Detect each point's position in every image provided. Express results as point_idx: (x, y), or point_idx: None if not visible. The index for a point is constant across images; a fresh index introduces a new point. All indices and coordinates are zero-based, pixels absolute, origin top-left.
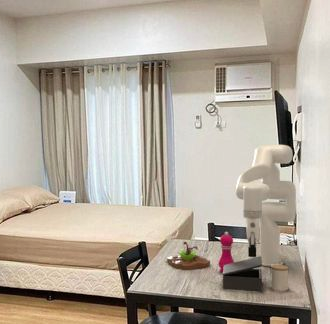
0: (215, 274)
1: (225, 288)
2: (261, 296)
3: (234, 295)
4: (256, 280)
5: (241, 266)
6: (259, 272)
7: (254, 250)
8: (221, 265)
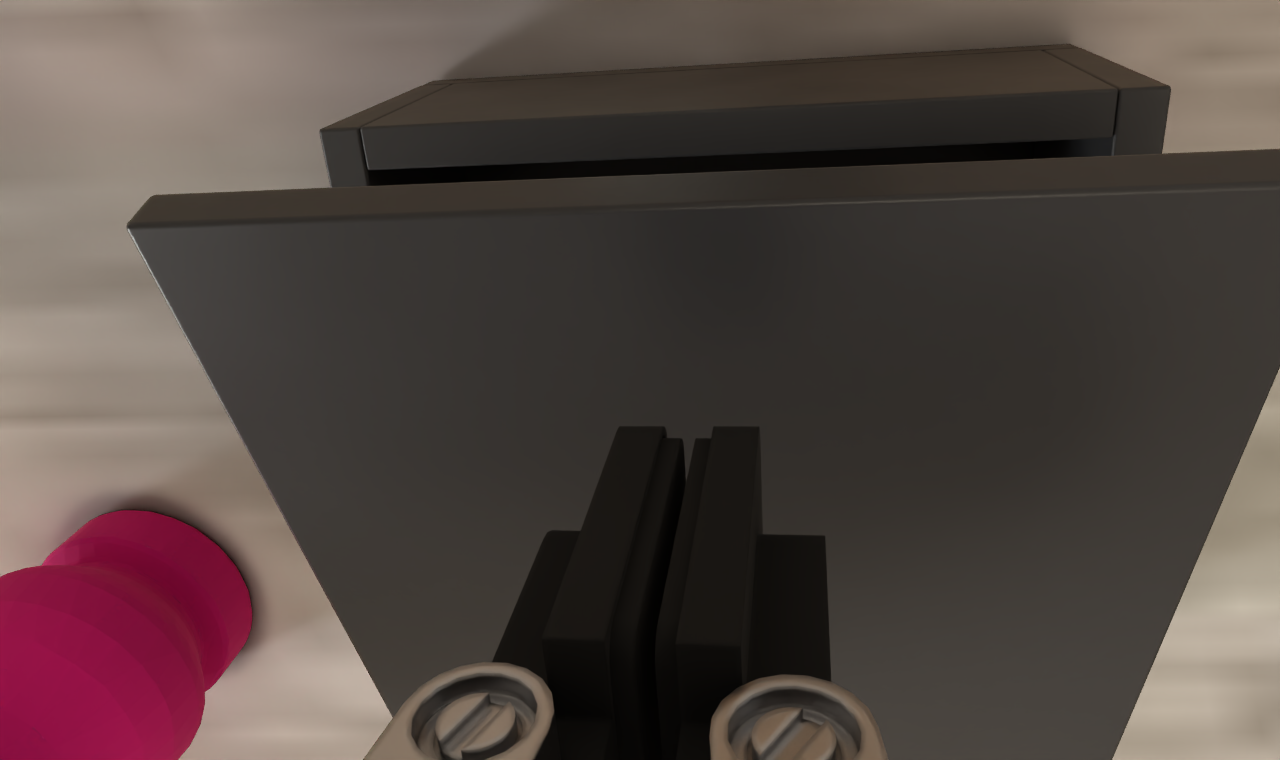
0: (286, 711)
1: None
2: (1236, 46)
3: (1240, 475)
4: None
5: (872, 622)
6: (597, 159)
7: (748, 629)
8: (186, 748)
